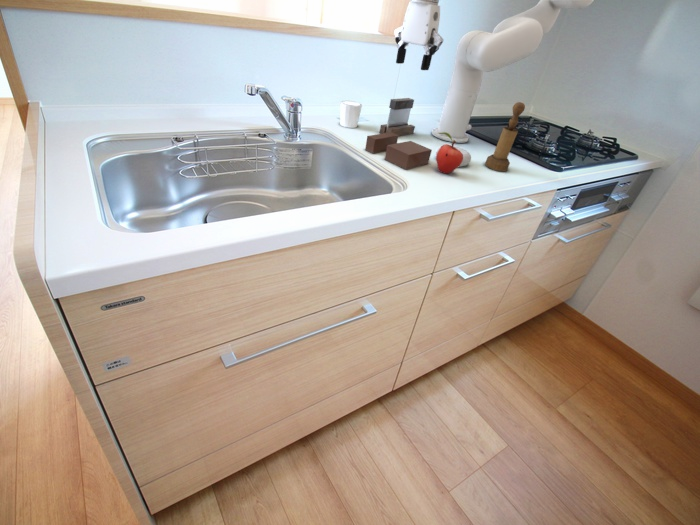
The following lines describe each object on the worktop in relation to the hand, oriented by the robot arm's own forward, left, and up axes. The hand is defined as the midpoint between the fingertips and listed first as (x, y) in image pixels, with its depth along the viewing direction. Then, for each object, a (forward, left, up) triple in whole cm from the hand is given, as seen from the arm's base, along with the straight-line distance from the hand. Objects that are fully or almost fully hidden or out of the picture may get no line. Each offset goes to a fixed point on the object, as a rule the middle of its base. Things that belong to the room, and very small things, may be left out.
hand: (411, 66), depth 111 cm
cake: (+18, +19, -20) cm, 33 cm away
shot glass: (+11, -12, -20) cm, 26 cm away
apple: (+14, +28, -20) cm, 37 cm away
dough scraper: (+1, 0, -20) cm, 20 cm away
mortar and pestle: (-6, +34, -20) cm, 40 cm away
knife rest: (0, 0, -20) cm, 20 cm away
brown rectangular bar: (+18, +9, -20) cm, 29 cm away
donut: (+4, +25, -20) cm, 32 cm away
